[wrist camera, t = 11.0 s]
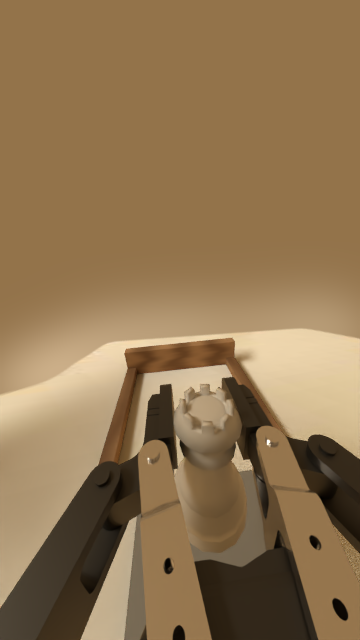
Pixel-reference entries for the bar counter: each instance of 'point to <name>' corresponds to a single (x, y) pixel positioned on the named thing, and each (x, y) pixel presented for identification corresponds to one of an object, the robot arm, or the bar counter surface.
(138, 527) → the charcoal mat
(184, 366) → the walnut lane
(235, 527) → the rook chess piece
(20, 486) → the bar counter surface
